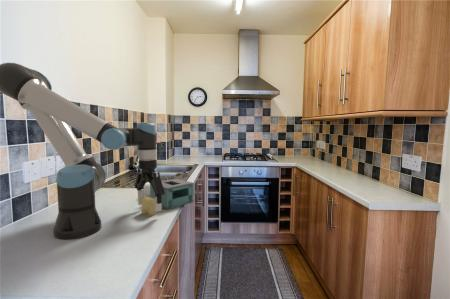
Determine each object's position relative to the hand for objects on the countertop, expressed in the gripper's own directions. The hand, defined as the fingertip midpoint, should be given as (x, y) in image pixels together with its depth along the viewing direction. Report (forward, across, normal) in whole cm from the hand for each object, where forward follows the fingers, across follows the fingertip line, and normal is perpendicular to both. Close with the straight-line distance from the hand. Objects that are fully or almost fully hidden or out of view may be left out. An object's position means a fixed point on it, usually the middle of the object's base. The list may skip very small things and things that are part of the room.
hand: (149, 207), depth 111 cm
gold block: (+3, 0, 0) cm, 3 cm away
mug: (+3, +21, -18) cm, 28 cm away
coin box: (+3, +6, -16) cm, 18 cm away
